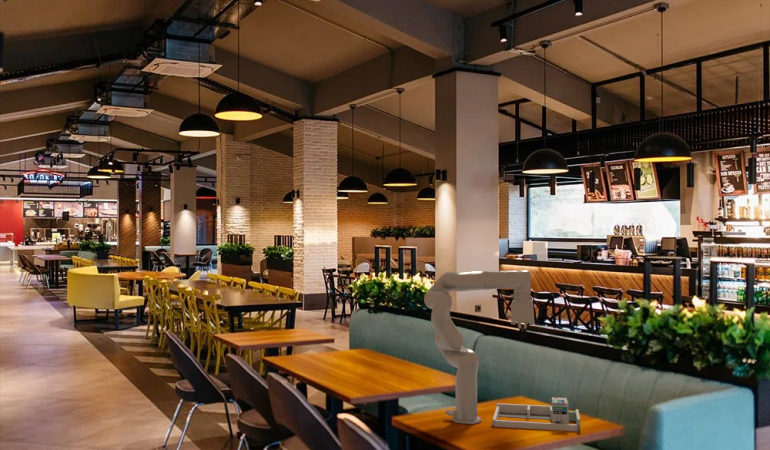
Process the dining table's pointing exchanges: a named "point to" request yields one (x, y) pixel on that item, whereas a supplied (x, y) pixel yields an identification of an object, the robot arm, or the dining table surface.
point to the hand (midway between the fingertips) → (522, 337)
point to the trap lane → (532, 417)
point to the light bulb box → (560, 410)
